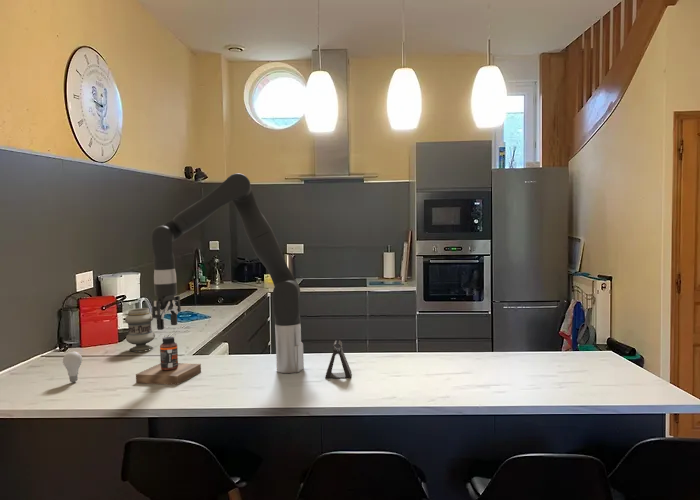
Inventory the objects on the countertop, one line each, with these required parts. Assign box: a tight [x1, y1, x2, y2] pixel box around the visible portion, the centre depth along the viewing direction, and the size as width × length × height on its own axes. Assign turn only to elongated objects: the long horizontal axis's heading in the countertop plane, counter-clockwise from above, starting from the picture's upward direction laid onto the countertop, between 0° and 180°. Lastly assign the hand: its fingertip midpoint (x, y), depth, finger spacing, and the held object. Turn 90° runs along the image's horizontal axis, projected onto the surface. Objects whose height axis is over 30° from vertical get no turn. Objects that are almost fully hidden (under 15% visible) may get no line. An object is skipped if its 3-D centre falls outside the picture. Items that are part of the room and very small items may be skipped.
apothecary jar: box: [124, 307, 156, 353], centre depth 241 cm, size 12×12×18 cm
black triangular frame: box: [324, 339, 352, 380], centre depth 190 cm, size 9×6×12 cm, turn 88°
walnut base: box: [135, 362, 202, 386], centre depth 195 cm, size 16×16×3 cm
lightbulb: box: [62, 351, 83, 384], centre depth 192 cm, size 6×6×11 cm
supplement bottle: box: [159, 336, 179, 370], centre depth 195 cm, size 6×6×11 cm
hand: (167, 327), depth 195 cm, fingers open, 8 cm apart
